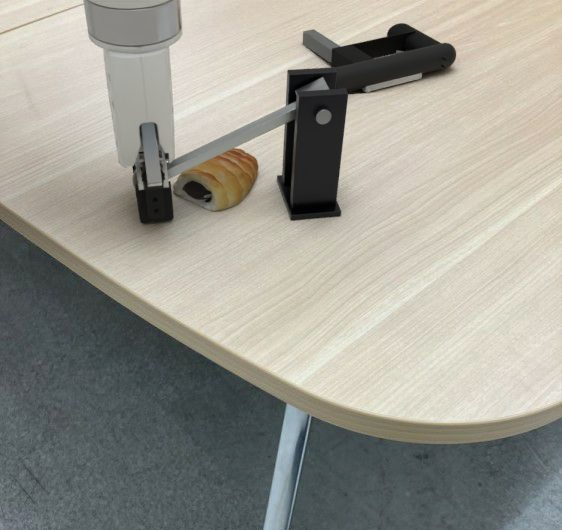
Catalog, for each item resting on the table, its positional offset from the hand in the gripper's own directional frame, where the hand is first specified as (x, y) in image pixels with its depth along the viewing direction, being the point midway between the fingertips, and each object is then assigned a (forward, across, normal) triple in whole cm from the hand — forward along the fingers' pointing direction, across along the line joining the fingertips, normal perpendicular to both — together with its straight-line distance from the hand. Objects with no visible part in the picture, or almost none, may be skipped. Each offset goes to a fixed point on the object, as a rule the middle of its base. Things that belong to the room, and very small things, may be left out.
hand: (154, 207), depth 76 cm
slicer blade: (-5, 0, +8) cm, 9 cm away
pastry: (+1, -3, +6) cm, 7 cm away
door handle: (+2, -29, +29) cm, 41 cm away
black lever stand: (+1, 0, +15) cm, 15 cm away
